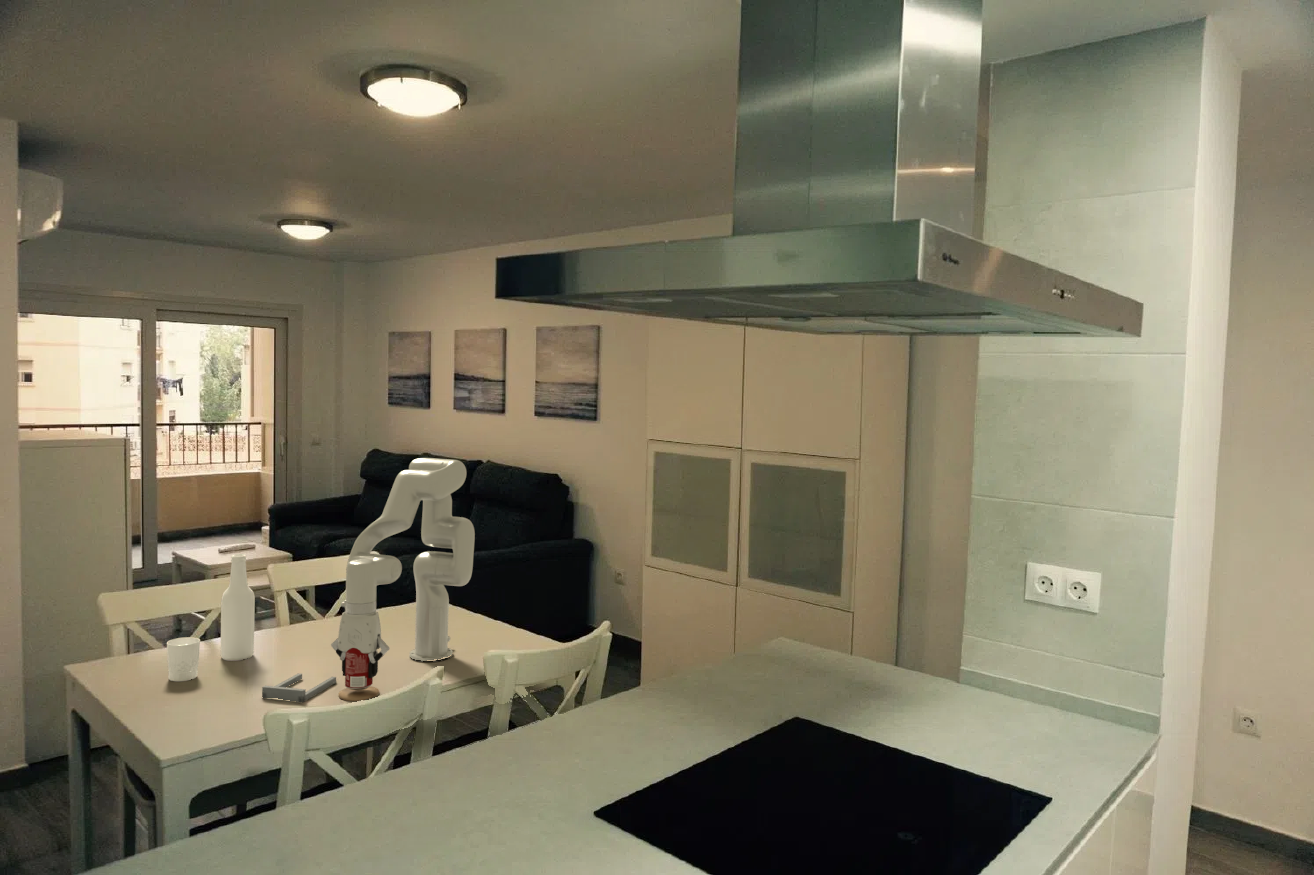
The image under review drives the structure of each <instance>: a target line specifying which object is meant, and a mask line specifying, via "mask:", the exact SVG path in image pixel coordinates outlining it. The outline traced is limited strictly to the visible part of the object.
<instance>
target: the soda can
mask: <svg viewBox="0 0 1314 875" xmlns="http://www.w3.org/2000/svg"><path fill="white" fill-rule="evenodd" d="M369 663H371V661H370V658H369V656H368V654H363V653H361V651H360V650H358V649H357V648H351V649H349V650H348V651H347V652H346V663H345V676H344V684H345V685H344V686H345V687H346V688H349V689H351V690H364V689H367V688H368V687H370V686H372V685H373V679H374V677H373V678H369V677H368V669H369Z"/></svg>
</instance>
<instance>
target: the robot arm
mask: <svg viewBox="0 0 1314 875" xmlns="http://www.w3.org/2000/svg"><path fill="white" fill-rule="evenodd" d="M466 478H467V467H466V466H465V464H464V463H463V461H461V460H458V459H449V458H448V459H447V458H434V457H420V458H415V459H413V460H412V461H411V462H410V463H409V465H408V469H404V470H401V471H400V472H399V473H398V474H397V475H396V477H395V479H394V482H393V484H392V486H391V487H392V488H391V490H390V492H389V496H388V498H387V501H386V503H385V505H384V508H383V511H382V514H381V515H380V516H379V517H378V518H376V520H375V521H373V522H371V523H370V524H369V525H368V526H367V527H366V528H365V529H364V530H363V531H362V532H360V534H359V535H358V536H357V537H356V539H355V541H354V543H353V546H352V548H351V550H350V554H349V556H348V560H347V564H346V569H345V570H346V572H345V576H346V577H345V601H342V602H340V603H341V604H340V605H341V607H342V608H344V612H342V614H341V617H340V622H339V628H338V636H337V638H336V639H335V640H334V641H332V643H331V644H330V646H331V648H332V649H333V650H334V651H335V653H336V655H337V656H338V657H339V660H340V661H341V671H342V677H345V663H346V652H347V651H348V650H349V649H351V648H357V649H358V650H360V651H361V653H363V654H368V656H369V658H370V661H371V663H369V669H368V677H369V678H373V679H374V677H375V676H377V674H378V672H379V661H380V660H381V659H382V658H383V656H384V655H386V654H387V653H388V651H390V646H389V645H388V644H387V643H386V642H385V641H384V640H383V638H382V630H381V629H382V627H381V620H380V614H379V612H378V611H377V586H379V585H388V584H392V583H394V582H396V581H397V580H398V579H400V577H401V574H402V570H403V564H402V563H401V561H400V560H399V558H397V557H396V556H393V555H388V554H387V555H386V554H380V553H379V554H378V553H371V552H372V551H373V549H374V548H375V547H376V545H377V544H378V543H380V542H381V541H383V540H384V539H386V538H389V537H391V536H393V535H396V534H399V533H401V532H404V531H407V530H408V529H410V528H411V527H412V524H413V523H414V519H415V517H416V514H417V511H418V509H419V505H420V504H421V503H420V502H421V501H422V515H421V516H422V517H421V528H420V531H421V532H420V534H421V536H420V537H421V541H422V543H423V544H424V545H425V546H428V547H433V548H441V549H452V552H446V551H435V550H434V551H433V550H431V551H430V550H427V551H423V552H421V553H419V554H418V555H417V556H416V557H415V559H414V562H413V567H412V568H413V576H414V581H415V591H416V593H415V594H416V595H415V598H416V599H415V602H416V603H415V604H416V605H415V630H414V631H415V633H414V635H415V637H414V639H415V640H414V649H412V650H410V651H409V658H410V657H411V658H412V659H411V658H410V659H411V660H413V659H415V660H414V661H416V660H421V661H420V662H423V661H427V660H434V659H437V660H438V659H441V658H443V657H448V656H450V655H452V653H453V650H452V649H451V648H449V646H448V643H449V642H450V641H451V637H450V635H449V612H450V611H449V604H450V603H449V602H450V599H449V593H448V591H447V588H446V587H445V586H452V587H453V586H454V587H463V586H465V585H467V584H468V583H469V582H470V580H471V578H472V575H473V569H474V568H473V567H474V552H475V540H476V539H475V535H476V533H475V527H474V524H473V523H472V521H471V520H470V519H468V518H466V517H463V516H461V517H460V516H453V499H452V494H453V493H454V492H456V491H457V490H459V489H460V488H461V487H462V486H463V485H464V483H465V481H466ZM379 649H380V651H378V650H379ZM452 656H453V655H452Z"/></svg>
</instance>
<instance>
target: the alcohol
mask: <svg viewBox="0 0 1314 875" xmlns="http://www.w3.org/2000/svg"><path fill="white" fill-rule="evenodd" d="M230 558H231V560H230V562H231V564H230V565H231V566H230V574H229V584H228V587H227V588H226V589H225V590H224V591H223V593H222V596H221V601H220V603H221V604H220V657H221V658H222V660H224V661H228V662H235V661H239V662H240V661H244V660H243V659H245V660H247V658H248V659H250V658H251V657H253V655H254V653H255V607H256V606H255V602H256V601H255V600H256V599H255V598H256V597H255V592H254V591H253V590H252V588H251V587H250V586H249V584H248V576H247V572H248V571H247V555H246V554H241V553H240V554H232V555H231V556H230Z"/></svg>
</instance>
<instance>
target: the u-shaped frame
mask: <svg viewBox="0 0 1314 875" xmlns="http://www.w3.org/2000/svg"><path fill="white" fill-rule="evenodd" d="M300 679H302V680H303V673H297V674H294V675H293V676H290V677H289V678H288V679H286V680H284V681H281V682H279V683H277V684H276V685H263V686H262V687H261V698H262V697H263V698H278V699H283V700H290V701H289V702H291V701H296V702H295V703H301V702H302V703H304V702H306V701H308V700H309V699H311V698H312V697H315V696H316V695H318V694H319V693H321V692H323V691H324V690H326V689H328V688H329V687H331V686H333V685H335V684H336V683H337V676H331V677H328V678H327V679H325V680H324V681H322V682H321V683H319V684H316V685H315V686H313V687H312V688H309V689H308V690H307V691H306V689H303V688H294V687H290V686H289V685H291V684H293V683H294V684H296V683H298V682H300V681H301V680H300ZM299 680H300V681H299ZM297 681H298V682H297ZM295 682H296V683H295ZM294 684H293V685H294ZM287 686H289V687H287ZM291 686H292V685H291ZM286 687H287V688H286Z"/></svg>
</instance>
